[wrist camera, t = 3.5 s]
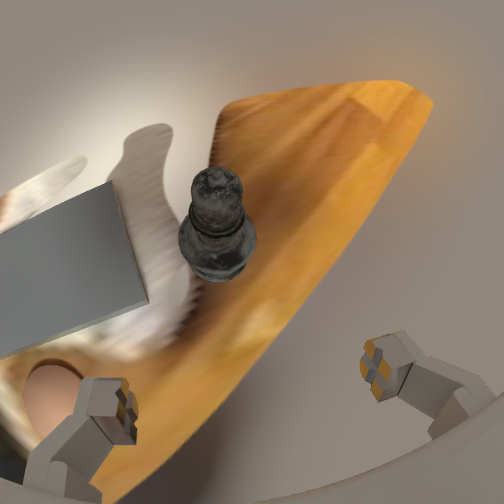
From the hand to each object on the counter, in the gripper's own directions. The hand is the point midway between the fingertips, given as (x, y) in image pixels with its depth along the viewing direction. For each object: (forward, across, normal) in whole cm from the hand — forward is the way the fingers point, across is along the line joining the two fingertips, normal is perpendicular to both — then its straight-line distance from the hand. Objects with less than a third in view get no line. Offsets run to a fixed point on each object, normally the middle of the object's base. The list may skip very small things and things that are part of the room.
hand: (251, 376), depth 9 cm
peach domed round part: (+8, +16, +13) cm, 22 cm away
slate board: (+16, +16, +4) cm, 24 cm away
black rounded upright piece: (+17, 0, +4) cm, 17 cm away
